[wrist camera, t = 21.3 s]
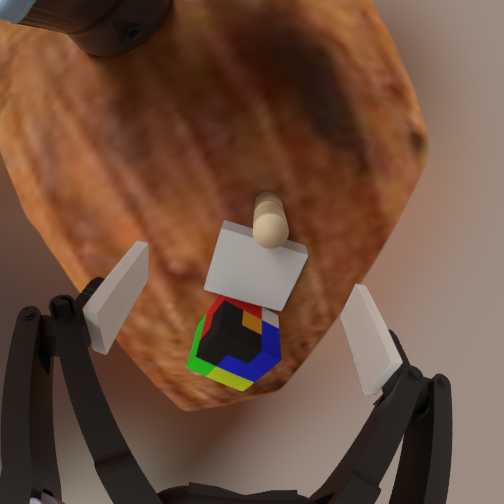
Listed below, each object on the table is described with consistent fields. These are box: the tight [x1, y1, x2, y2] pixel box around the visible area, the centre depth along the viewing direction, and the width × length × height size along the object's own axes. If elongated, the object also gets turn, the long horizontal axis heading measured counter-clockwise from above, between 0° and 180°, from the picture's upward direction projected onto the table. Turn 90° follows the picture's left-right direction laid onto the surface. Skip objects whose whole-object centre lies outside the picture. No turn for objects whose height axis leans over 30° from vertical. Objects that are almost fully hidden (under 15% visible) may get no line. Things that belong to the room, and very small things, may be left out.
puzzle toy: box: [186, 295, 281, 392], centre depth 41 cm, size 10×10×10 cm
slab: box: [204, 220, 308, 311], centre depth 39 cm, size 10×12×4 cm
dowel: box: [253, 191, 289, 249], centre depth 32 cm, size 4×4×10 cm
